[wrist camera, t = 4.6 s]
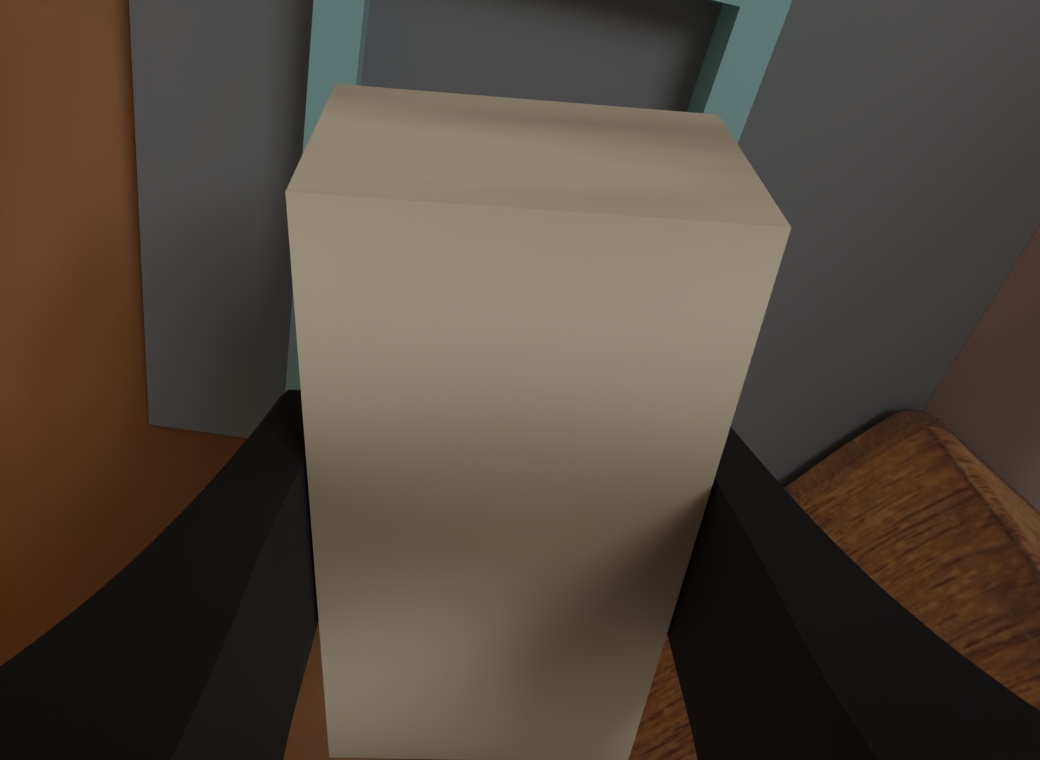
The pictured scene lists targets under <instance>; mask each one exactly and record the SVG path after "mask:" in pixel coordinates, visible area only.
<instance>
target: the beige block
mask: <svg viewBox="0 0 1040 760" xmlns="http://www.w3.org/2000/svg"><path fill="white" fill-rule="evenodd" d="M285 194H286V207H287V220H288V233H289V246H290V258H291V271H292V284H293V297H294V310H295V323H296V336H297V349H298V361H299V374H300V387H301V400H302V413H303V426H304V439H305V451H306V464H307V477H308V490H309V503H310V516H311V529H312V541H313V554H314V567H315V580H316V593H317V606H318V619H319V632H320V644H321V657H322V670H323V683H324V696H325V709H326V722H327V734H328V747H329V757H335V758H389V759H444V760H628V759H629V756H630V753H631V750H632V746H633V743H634V740H635V737H636V733H637V730H638V727H639V724H640V720H641V717H642V714H643V710H644V707H645V704H646V701H647V697H648V694H649V691H650V688H651V684H652V681H653V678H654V675H655V671H656V668H657V665H658V661H659V658H660V655H661V652H662V648H663V645H664V642H665V639H666V635H667V632H668V629H669V626H670V622H671V619H672V616H673V612H674V609H675V606H676V603H677V599H678V596H679V593H680V590H681V586H682V583H683V580H684V577H685V573H686V570H687V567H688V563H689V560H690V557H691V554H692V550H693V547H694V544H695V541H696V537H697V534H698V531H699V528H700V524H701V521H702V518H703V514H704V511H705V508H706V505H707V501H708V498H709V495H710V492H711V488H712V485H713V482H714V479H715V475H716V472H717V469H718V465H719V462H720V459H721V456H722V452H723V449H724V446H725V443H726V439H727V436H728V433H729V430H730V426H731V423H732V420H733V416H734V413H735V410H736V407H737V403H738V400H739V397H740V394H741V390H742V387H743V384H744V381H745V377H746V374H747V371H748V367H749V364H750V361H751V358H752V354H753V351H754V348H755V345H756V341H757V338H758V335H759V332H760V328H761V325H762V322H763V318H764V315H765V312H766V309H767V305H768V302H769V299H770V296H771V292H772V289H773V286H774V283H775V279H776V276H777V273H778V269H779V266H780V263H781V260H782V256H783V253H784V250H785V247H786V243H787V240H788V237H789V234H790V230H791V226H790V224H789V223H788V221H787V220H786V218H785V217H784V215H783V214H782V212H781V210H780V209H779V207H778V206H777V204H776V203H775V201H774V200H773V198H772V197H771V195H770V194H769V192H768V190H767V189H766V187H765V186H764V184H763V183H762V181H761V180H760V178H759V177H758V175H757V173H756V172H755V170H754V169H753V167H752V166H751V164H750V163H749V161H748V160H747V158H746V157H745V155H744V153H743V152H742V150H741V149H740V147H739V146H738V144H737V143H736V141H735V140H734V138H733V136H732V135H731V133H730V132H729V130H728V129H727V127H726V126H725V124H724V123H723V121H722V120H721V118H720V116H719V115H718V114H705V113H693V112H680V111H668V110H655V109H643V108H631V107H618V106H606V105H593V104H581V103H568V102H556V101H544V100H531V99H519V98H506V97H494V96H482V95H469V94H457V93H444V92H432V91H419V90H407V89H395V88H382V87H370V86H357V85H345V84H335V85H334V88H333V90H332V92H331V94H330V96H329V98H328V101H327V103H326V105H325V107H324V109H323V111H322V113H321V116H320V118H319V120H318V122H317V124H316V126H315V129H314V131H313V133H312V135H311V137H310V139H309V142H308V144H307V146H306V148H305V150H304V152H303V155H302V157H301V159H300V161H299V163H298V165H297V168H296V170H295V172H294V174H293V176H292V178H291V181H290V183H289V185H288V187H287V189H286V191H285Z"/></svg>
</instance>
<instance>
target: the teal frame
mask: <svg viewBox="0 0 1040 760" xmlns="http://www.w3.org/2000/svg"><path fill="white" fill-rule="evenodd" d="M714 1H718V2H722V3H723V5H722V8H721V11H720V14H719V17H718V20H717V23H716V26H715V29H714V32H713V34H712V37H711V40H710V43H709V46H708V49H707V52H706V55H705V58H704V61H703V64H702V67H701V70H700V73H699V76H698V79H697V82H696V85H695V88H694V91H693V94H692V97H691V100H690V103H689V106H688V109H687V112H693V113H705V114H718V115H719V116H720V118H721V120H722V121H723V123H724V124H725V126H726V127H727V129H728V130H729V132H730V133H731V135H732V136H733V138H734V140H735V141H736V143H737V144H738V142H739V139H740V136H741V134H742V131H743V128H744V126H745V123H746V121H747V118H748V115H749V113H750V110H751V107H752V105H753V102H754V100H755V97H756V94H757V92H758V89H759V86H760V84H761V81H762V79H763V76H764V73H765V71H766V68H767V65H768V63H769V60H770V58H771V55H772V52H773V50H774V47H775V44H776V42H777V39H778V37H779V34H780V31H781V29H782V26H783V23H784V21H785V18H786V16H787V13H788V10H789V8H790V5H791V2H792V0H714ZM369 5H370V0H314V1H313V15H312V29H311V43H310V56H309V70H308V84H307V98H306V112H305V126H304V140H303V152H304V150H305V148H306V146H307V144H308V142H309V139H310V137H311V135H312V133H313V131H314V129H315V126H316V124H317V122H318V120H319V118H320V116H321V113H322V111H323V109H324V107H325V105H326V103H327V101H328V98H329V96H330V94H331V92H332V90H333V88H334V85H335V84H345V85H357V86H361V79H362V69H363V60H364V51H365V42H366V33H367V23H368V14H369ZM302 155H303V154H302ZM289 389H290V390H301V387H300V374H299V361H298V349H297V336H296V323H295V310H294V297H293V293H292V307H291V321H290V335H289V349H288V362H287V376H286V390H285V392H286V391H287V390H289Z"/></svg>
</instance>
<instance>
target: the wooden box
mask: <svg viewBox="0 0 1040 760" xmlns="http://www.w3.org/2000/svg"><path fill="white" fill-rule="evenodd" d="M784 489H785V490H786V491H787V492H788V493H789V495H790V496H791V497H792V498H793V499H794V500H795V501H796V502H797V503H798V504H799V506H800V507H801V508H802V509H803V510H804V511H805V512H806V513H807V514H808V515H809V516H810V517H811V519H812V520H813V521H814V522H815V523H816V524H817V525H818V526H819V527H820V528H821V529H822V530H823V531H824V532H825V533H826V534H827V535H828V536H829V537H830V538H831V539H832V540H833V541H834V542H835V543H836V544H837V545H838V546H839V547H840V548H841V549H842V550H843V551H844V552H845V553H846V554H847V555H848V556H849V557H850V558H851V559H852V560H853V561H854V562H855V563H856V564H857V565H858V566H859V567H860V568H861V569H862V570H863V571H864V572H865V573H866V574H867V575H868V576H869V577H871V578H872V579H873V580H874V581H875V582H876V583H877V584H878V585H879V586H880V587H881V588H883V589H884V590H885V591H886V592H887V593H888V594H889V595H890V596H891V597H893V598H894V599H895V600H896V601H897V602H898V603H900V604H901V605H902V606H903V607H904V608H906V609H907V610H908V611H909V612H910V613H911V614H913V615H914V616H915V617H916V618H917V619H918V620H920V621H921V622H922V623H923V624H924V625H926V626H927V627H928V628H929V629H930V630H931V631H933V632H934V633H935V634H936V635H938V636H939V637H940V638H941V639H943V640H944V641H945V642H946V643H948V644H949V645H950V646H951V647H953V648H954V649H955V650H957V651H958V652H959V653H960V654H962V655H963V656H964V657H966V658H967V659H968V660H970V661H971V662H972V663H974V664H975V665H976V666H978V667H979V668H980V669H982V670H983V671H985V672H986V673H987V674H989V675H990V676H991V677H993V678H994V679H995V680H997V681H998V682H999V683H1001V684H1002V685H1003V686H1005V687H1006V688H1008V689H1009V690H1010V691H1012V692H1013V693H1014V694H1016V695H1017V696H1019V697H1020V698H1022V699H1023V700H1024V701H1026V702H1027V703H1029V704H1030V705H1032V706H1033V707H1035V708H1036V709H1038V710H1039V711H1040V512H1039V511H1038V510H1037V509H1036V508H1035V507H1034V506H1033V505H1031V504H1030V503H1029V502H1028V501H1027V500H1026V499H1024V498H1023V497H1022V496H1021V495H1020V494H1019V493H1018V492H1016V491H1015V490H1014V489H1013V488H1012V487H1011V486H1010V485H1008V484H1007V483H1006V482H1005V481H1004V480H1003V479H1002V478H1000V477H999V476H998V475H997V474H996V473H995V472H994V471H993V470H992V469H991V468H990V467H988V466H987V465H986V464H985V463H984V462H983V461H982V460H981V459H980V458H979V457H978V456H977V455H976V454H975V453H974V452H972V451H971V450H970V449H969V448H968V447H967V446H966V445H965V444H964V443H962V442H961V441H960V440H959V439H958V438H957V437H956V436H955V435H954V434H953V433H952V432H951V431H950V430H948V429H947V428H946V427H945V426H944V425H943V424H942V423H941V422H940V421H938V420H937V419H936V418H935V417H933V416H932V415H930V414H928V413H925V412H922V411H918V410H913V409H902V410H900V411H898V412H897V413H895V414H893V415H891V416H889V417H887V418H886V419H884V420H882V421H881V422H879V423H878V424H876V425H874V426H873V427H871V428H869V429H868V430H866V431H865V432H863V433H862V434H860V435H859V436H858V437H856V438H855V439H853V440H851V441H850V442H848V443H846V444H845V445H843V446H842V447H841V448H839V449H838V450H836V451H835V452H833V453H832V454H830V455H829V456H828V457H826V458H825V459H823V460H822V461H821V462H819V463H818V464H816V465H815V466H814V467H812V468H811V469H810V470H808V471H807V472H805V473H804V474H803V475H801V476H800V477H799V478H797V479H796V480H794V481H793V482H791V483H790V484H788V485H787V486H785V487H784ZM628 760H697V755H696V750H695V745H694V740H693V736H692V731H691V727H690V723H689V719H688V715H687V711H686V707H685V703H684V699H683V695H682V691H681V687H680V683H679V679H678V675H677V671H676V667H675V663H674V659H673V655H672V651H671V647H670V643H669V639H668V635H666V639H665V642H664V645H663V648H662V652H661V655H660V658H659V661H658V665H657V668H656V671H655V675H654V678H653V681H652V684H651V688H650V691H649V694H648V697H647V701H646V704H645V707H644V710H643V714H642V717H641V720H640V724H639V727H638V730H637V733H636V737H635V740H634V743H633V746H632V750H631V753H630V756H629V759H628Z"/></svg>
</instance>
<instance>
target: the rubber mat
mask: <svg viewBox="0 0 1040 760" xmlns="http://www.w3.org/2000/svg"><path fill="white" fill-rule="evenodd" d="M313 1H314V0H129V14H130V35H131V56H132V77H133V98H134V119H135V140H136V161H137V183H138V204H139V225H140V246H141V267H142V288H143V309H144V330H145V352H146V373H147V394H148V415H149V425H156V426H163V427H170V428H178V429H185V430H192V431H199V432H206V433H213V434H220V435H227V436H235V437H242V438H249V436H250V435H251V434H252V433H253V431H254V430H255V429H256V428H257V426H258V425H259V424H260V422H261V421H262V420H263V419H264V417H265V416H266V415H267V413H268V412H269V411H270V409H271V408H272V407H273V405H274V404H275V403H276V401H277V400H278V399H279V397H280V396H281V395H282V394H284V393H285V390H286V376H287V362H288V349H289V335H290V321H291V307H292V293H293V284H292V271H291V258H290V246H289V233H288V220H287V207H286V194H285V191H286V189H287V187H288V185H289V183H290V181H291V178H292V176H293V174H294V172H295V170H296V168H297V165H298V163H299V161H300V159H301V157H302V154H303V140H304V126H305V112H306V98H307V84H308V70H309V56H310V43H311V29H312V15H313ZM722 5H723V3H722V2H718V1H714V0H370V5H369V14H368V23H367V33H366V42H365V51H364V60H363V69H362V79H361V86H370V87H382V88H395V89H407V90H419V91H432V92H444V93H457V94H469V95H482V96H494V97H506V98H519V99H531V100H544V101H556V102H568V103H581V104H593V105H606V106H618V107H631V108H643V109H655V110H668V111H680V112H687V109H688V106H689V103H690V100H691V97H692V94H693V91H694V88H695V85H696V82H697V79H698V76H699V73H700V70H701V67H702V64H703V61H704V58H705V55H706V52H707V49H708V46H709V43H710V40H711V37H712V34H713V32H714V29H715V26H716V23H717V20H718V17H719V14H720V11H721V8H722ZM738 146H739V147H740V149H741V150H742V152H743V153H744V155H745V157H746V158H747V160H748V161H749V163H750V164H751V166H752V167H753V169H754V170H755V172H756V173H757V175H758V177H759V178H760V180H761V181H762V183H763V184H764V186H765V187H766V189H767V190H768V192H769V194H770V195H771V197H772V198H773V200H774V201H775V203H776V204H777V206H778V207H779V209H780V210H781V212H782V214H783V215H784V217H785V218H786V220H787V221H788V223H789V224H790V226H791V230H790V234H789V237H788V240H787V243H786V247H785V250H784V253H783V256H782V260H781V263H780V266H779V269H778V273H777V276H776V279H775V283H774V286H773V289H772V292H771V296H770V299H769V302H768V305H767V309H766V312H765V315H764V318H763V322H762V325H761V328H760V332H759V335H758V338H757V341H756V345H755V348H754V351H753V354H752V358H751V361H750V364H749V367H748V371H747V374H746V377H745V381H744V384H743V387H742V390H741V394H740V397H739V400H738V403H737V407H736V410H735V413H734V416H733V420H732V423H731V427H732V428H733V430H734V431H735V432H736V433H737V434H738V436H739V437H740V438H741V439H742V440H743V441H744V443H745V444H746V445H747V446H748V447H749V449H750V450H751V451H752V452H753V453H754V454H755V456H756V457H757V458H758V459H759V460H760V461H761V463H762V464H763V465H764V466H765V467H766V468H767V470H768V471H769V472H770V473H771V474H772V475H773V476H774V478H775V479H776V480H777V481H778V482H779V483H780V484H781V486H782V487H783V488H784V487H785V486H787V485H788V484H790V483H791V482H793V481H794V480H796V479H797V478H799V477H800V476H801V475H803V474H804V473H805V472H807V471H808V470H810V469H811V468H812V467H814V466H815V465H816V464H818V463H819V462H821V461H822V460H823V459H825V458H826V457H828V456H829V455H830V454H832V453H833V452H835V451H836V450H838V449H839V448H841V447H842V446H843V445H845V444H846V443H848V442H850V441H851V440H853V439H855V438H856V437H858V436H859V435H860V434H862V433H863V432H865V431H866V430H868V429H869V428H871V427H873V426H874V425H876V424H878V423H879V422H881V421H882V420H884V419H886V418H887V417H889V416H891V415H893V414H895V413H897V412H898V411H900V410H902V409H913V410H918V411H923V409H924V408H925V406H926V405H927V403H928V401H929V400H930V398H931V397H932V395H933V393H934V392H935V390H936V389H937V387H938V386H939V384H940V382H941V381H942V379H943V378H944V376H945V375H946V373H947V371H948V370H949V368H950V367H951V365H952V363H953V362H954V360H955V359H956V357H957V356H958V354H959V352H960V351H961V349H962V348H963V346H964V344H965V343H966V341H967V340H968V338H969V337H970V335H971V333H972V332H973V330H974V329H975V327H976V326H977V324H978V322H979V321H980V319H981V318H982V316H983V314H984V313H985V311H986V310H987V308H988V307H989V305H990V303H991V302H992V300H993V299H994V297H995V295H996V294H997V292H998V291H999V289H1000V288H1001V286H1002V284H1003V283H1004V281H1005V280H1006V278H1007V277H1008V275H1009V273H1010V272H1011V270H1012V269H1013V267H1014V265H1015V264H1016V262H1017V261H1018V259H1019V258H1020V256H1021V254H1022V253H1023V251H1024V250H1025V248H1026V247H1027V245H1028V243H1029V242H1030V240H1031V239H1032V237H1033V235H1034V234H1035V232H1036V231H1037V229H1038V228H1039V226H1040V0H792V2H791V5H790V8H789V10H788V13H787V16H786V18H785V21H784V23H783V26H782V29H781V31H780V34H779V37H778V39H777V42H776V44H775V47H774V50H773V52H772V55H771V58H770V60H769V63H768V65H767V68H766V71H765V73H764V76H763V79H762V81H761V84H760V86H759V89H758V92H757V94H756V97H755V100H754V102H753V105H752V107H751V110H750V113H749V115H748V118H747V121H746V123H745V126H744V128H743V131H742V134H741V136H740V139H739V142H738Z"/></svg>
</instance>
